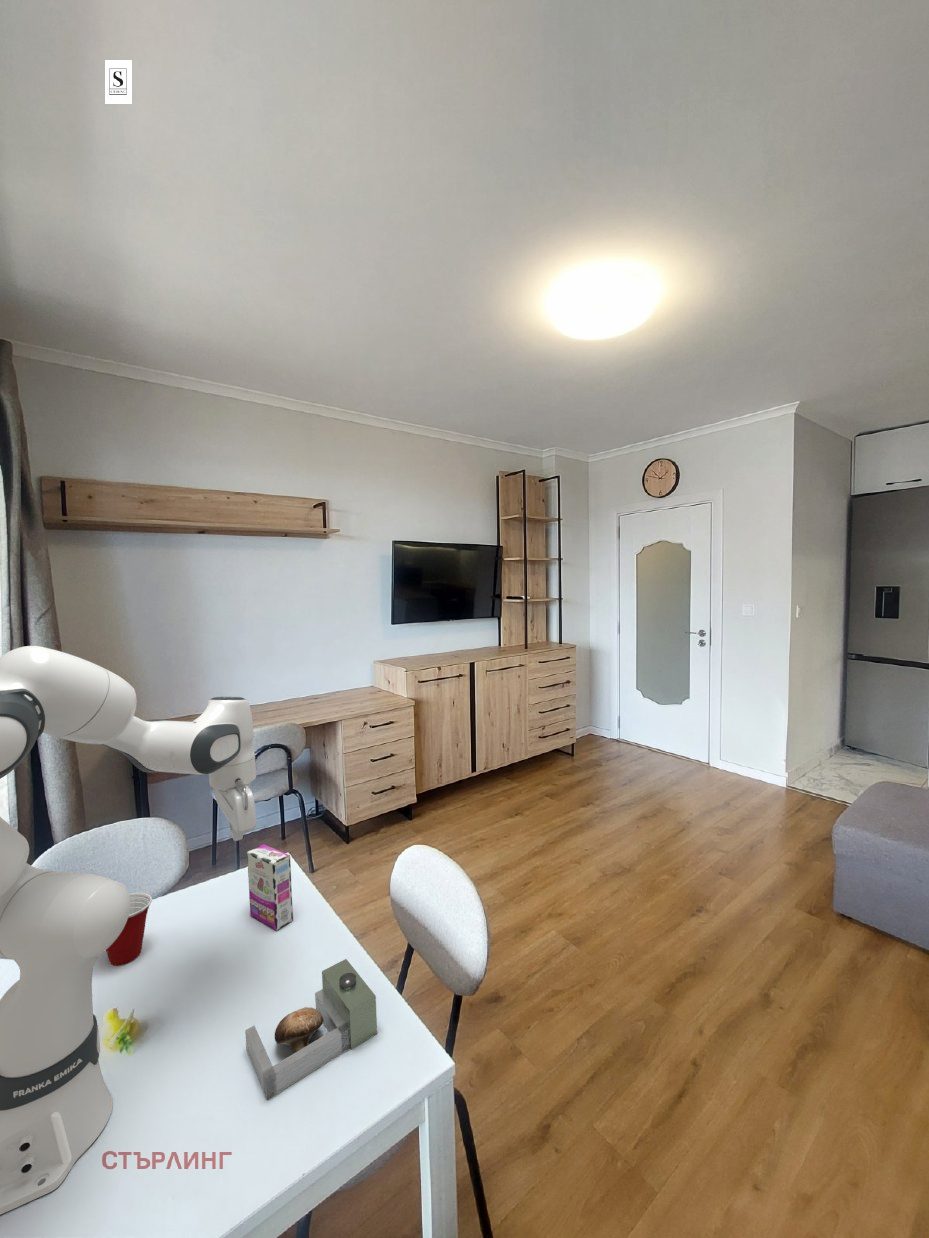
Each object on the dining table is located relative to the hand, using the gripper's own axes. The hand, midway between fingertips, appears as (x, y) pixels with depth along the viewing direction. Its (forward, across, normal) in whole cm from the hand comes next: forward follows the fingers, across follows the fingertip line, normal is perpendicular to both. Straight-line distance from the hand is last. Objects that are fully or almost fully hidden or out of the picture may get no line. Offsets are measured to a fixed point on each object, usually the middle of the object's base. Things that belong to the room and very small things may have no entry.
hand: (236, 837), depth 105 cm
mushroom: (+29, -25, -3) cm, 38 cm away
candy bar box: (+29, +14, -10) cm, 33 cm away
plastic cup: (+29, +21, +20) cm, 41 cm away
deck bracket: (+28, -27, -5) cm, 39 cm away
